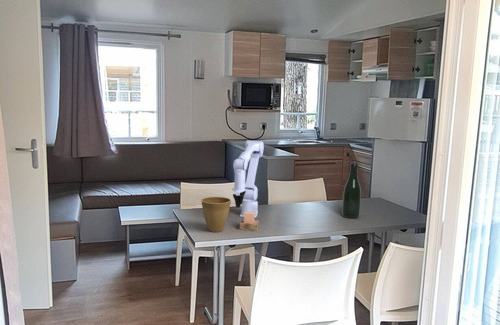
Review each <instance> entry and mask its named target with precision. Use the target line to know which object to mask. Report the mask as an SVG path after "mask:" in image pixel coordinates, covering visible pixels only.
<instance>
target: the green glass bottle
mask: <svg viewBox="0 0 500 325" xmlns="http://www.w3.org/2000/svg"><path fill="white" fill-rule="evenodd" d="M349 165H350V168H349V176H348V179H347V181H346V184H345V186H344V189H343V196H342V204H341V205H342V208H341V215H342V216H341V217H343V218H347V219H359V218H360V216H361V202H362V188H361V184H360V181H359V177H358V173H359V172H358V169H359V163H358V161H355V160H353V161H351V162H350V164H349Z"/></svg>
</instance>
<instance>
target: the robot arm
mask: <svg viewBox="0 0 500 325" xmlns="http://www.w3.org/2000/svg"><path fill="white" fill-rule="evenodd" d="M244 147H245V150H244V151H243V152H241V153H240V155H239V156H238V158H236V159H234V160H233V165H232V167H233V173H234V187H233V188H232V189H231V191H234V192H235V193H232V196H233V200H234V204H235V208H238V209H239V208H241V210H240V211H241V212H240V214H239V217H242V218H244V213H245V211H246V212H255V217H254V219H255V218H256V219H257V217H258V214H259V211H258V210H259V209H258V208H259V207H258V206H259V201H257V199H258V194H259V193H258V191H259V189H258V187H257V185H255V182H256V176H257V172H258V166H259V159H260V158H262V157H263V154H264V150H265V149H264V147H265V144H264V141H262V140H261V141H259V140H248V139H247V140H246V141H245V145H244ZM248 165H249V166H248ZM247 168H248V170H247ZM246 170H247V175H246Z"/></svg>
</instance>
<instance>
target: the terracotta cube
mask: <svg viewBox="0 0 500 325" xmlns="http://www.w3.org/2000/svg"><path fill="white" fill-rule="evenodd" d="M254 217H255V212H246V211H245V213H244V217H243V219H244V223H249V224H253V223H254V220H255V218H254Z"/></svg>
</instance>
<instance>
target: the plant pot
mask: <svg viewBox="0 0 500 325" xmlns="http://www.w3.org/2000/svg"><path fill="white" fill-rule="evenodd" d="M231 202H232V199H231V198H228V197H225V196H210V197H209V196H208V197H205V198H202V199H201V206H202V211H203V215H204V220H205V223H206V226H207V229H208V231H209V232H211V231H212V232H211V233H220V231H221V232H223V231H224V229H225V226H226V225H227V224H226V223H227V221H228V217H229V213H230V208H231Z"/></svg>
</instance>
